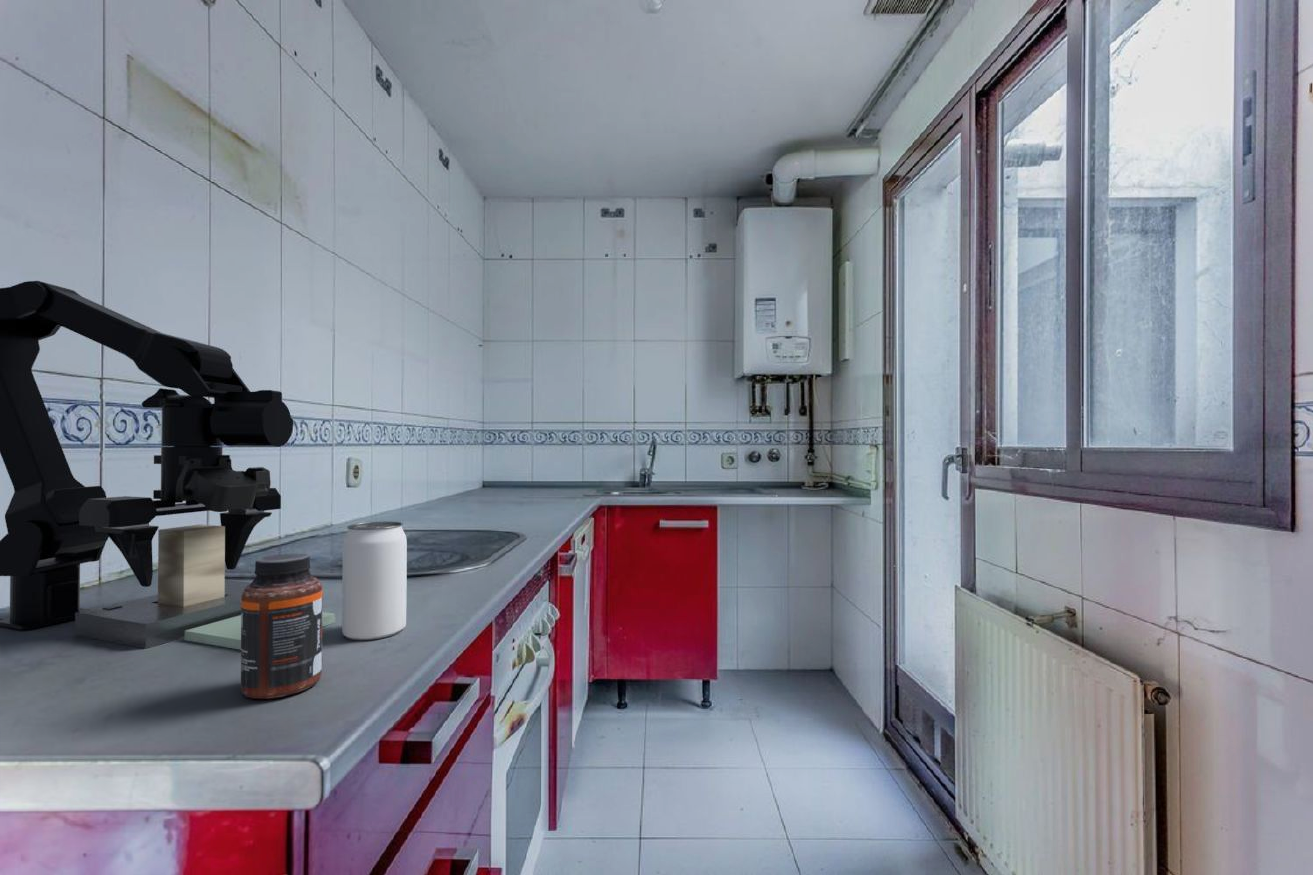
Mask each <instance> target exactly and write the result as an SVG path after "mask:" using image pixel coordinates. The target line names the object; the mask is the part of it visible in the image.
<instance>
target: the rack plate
mask: <svg viewBox="0 0 1313 875" xmlns="http://www.w3.org/2000/svg"><path fill="white" fill-rule="evenodd" d="M251 583H252V581H251V582H250V581H242V580H241V581H239V580H232V579H225V597H222V598H218V599H214V600H209V601H205V602H201V603H197V604H193V605H189V606H185V607H176V606H170V605H163V604H158V594H154V595H151V596H150V595H149V596H144V597H141V598H135V599H132V600H126V601H121V602H118V603H112V604H107V605H103V606H99V607H94V608H90V609H89V610H84V611H80V612H75V619H74V636H76V637H83V638H89V639H92V640H99V641H104V642H109V643H115V644H120V645H127V646H131V647H137V648H142V649H148V648H152V647H156V646H159V645H162V644H166V643H169V642H173V641H176V640H179V639H183V638H184V639H185V631H186V630H189V629H193V628H196V627H200V626H203V625H207V624H211V623H214V622H218V621H221V620H225V619H229V618H232V617H236V616H239V615H241V598H242V593H243V591H244V589H245V588H246V587H247V586H248V585H250V584H251Z"/></svg>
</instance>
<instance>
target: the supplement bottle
mask: <svg viewBox="0 0 1313 875" xmlns="http://www.w3.org/2000/svg"><path fill="white" fill-rule="evenodd" d="M254 565H255V568H254V572H253V573H254V575H256V576H255V578H253V581H251V584H250V585H248V586H247V587H246V588H245V589H244V591H243V593H242V598H241V650H240V687H241V693H242V694H243V695H244V696H245V697H247V698H251V699H256V700H261V699H262V700H268V699H271V700H272V699H279V698H284V697H287V696H291V695H294V694H297V693H300V692H304V691H306V690H308V689H309V688H311V687H313V686H314V685H316V684H317V683H318V682H319V681H320V679H321V678H322V676H323V674H322V673H323V627H322V612H323V585H322V583H321V580H320V579H318V577H315V576H312V573H311V572H310V569H311V559H310V554H308V553H305V552H304V553H303V552H299V553H298V552H293V553H292V552H290V553H289V552H288V553H280V554H272V555H267V556H262V557H259V558H257V559H256V560H255V563H254Z"/></svg>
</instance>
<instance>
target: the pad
mask: <svg viewBox="0 0 1313 875" xmlns="http://www.w3.org/2000/svg"><path fill="white" fill-rule="evenodd" d="M335 623H336V613H333V612H331V613H330V612H325V611H322V628H323V627H326V626H329V625H332V624H335ZM184 641H187V642H193V643H200V644H205V645H211V646H216V647H223V648H230V649H234V650H239V651H241V615H239V616H236V617H232V618H229V619H225V620H221V621H218V622H214V623H211V624H207V625H203V626H200V627H196V628H193V629H189V630H186V631H185V637H184Z"/></svg>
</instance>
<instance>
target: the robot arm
mask: <svg viewBox="0 0 1313 875" xmlns="http://www.w3.org/2000/svg"><path fill="white" fill-rule="evenodd" d="M60 328H65V329H67V330H69V331H71V332H74V333H75V334H78V335H80V336H83V337H84V338H86V339H89V340H91V341H93V342H96V343H98V344H100V345H102V346H103V347H106V348H109V349H111V350H113V351H115V352H118V353H119V354H121V355H124V356H126V357H127V358H128V359H130V360H131V361H133V362H134V364H135V366H136V367H137V369H138V370H139V371H141V372H142V373H144V374H145V375H146V376H148V377H150V378H151V379H152V380H154V381H155V382H157V383H158V384H160V385H162V386H163V387H166V388H163V387H162V388H160V387H159V388H158V389H157V391H156V392H155V393H154V394H152V395H151V396H148V397H147V398H146V399H145V400H143V401H142V402H141V406H142V407H143V408H144V409H145V408H146V409H160V410H161V443H160V444H161V446H160V447H161V448H160V455H159V454H158V455H155V454H154V455H153V464H154V465H160V489H155V490H153V494H152V495H153V499H152V497H145V496H131V495H130V496H126V495H124V496H111V497H107V494H106V490H104V488H103V487H102V486H101V485H94V486H91V485H90V486H85V485H84V484H83V483H81V482H80V481H78V480H77V479H76V478H75V477H74V475H73V473H72V471H71V468H70V465H69V463H68V461H67V458H66V455H65V453H64V450H63V448H62V445H61V442H60V440H59V437H58V434H57V432H56V429H55V427H54V425H53V424H54V423H53V422H52V419H51V417H50V414H49V412H48V409H47V407H46V404H45V402H44V400H43V396H42V394H41V392H40V389H39V387H38V386H39V385H38V384H37V382H36V378H35V376H34V374H33V370H32V368H33V367H34V364H35V362H36V360H37V358H38V355H39V354H40V352H41V347H40V342H39V341H41V340H44V339H45V340H46V339H48V338H49V337H53V336H55V335H56V333H57V332H58V331H59V330H60ZM170 388H171V389H170ZM172 388H173V389H172ZM175 389H179V390H181V391H182V392H183V393H185V394H184V395H183V394H180V393H179V392H177V390H175ZM207 398H213V403H211V401H210V400H208V399H207ZM293 430H294V419H293V418H292V415H291V412H290V410H289V408H288V406H287V404H286V403H285V402H283V393H282V391H278V390H270V389H261V390H260V389H259V390H255V391H251V390H250V389H249V388H248V386H247V385H246V384H245V382H244V381H243V380H242V378H241V377H240V376H239V375H238V373H237V371H236V370H235V369H234V365H233V363H232V356H231V355H230V354H229V353H228V352H227V351H226V350H224V349H223V348H220V347H217V346H213V345H210V344H205V343H203V342H202V343H201V342H198V341H196V340H195V341H194V340H191V339H187V338H183V337H178V336H175V335H171V334H167V333H163V332H161V331H158V330H156V329H154V328H152V327H149V326H148V325H145V324H143V323H141V322H139V321H137V320H135V319H132V318H130V317H127V316H126V315H124V314H121V313H119V312H116V311H114V310H112V309H110V308H109V307H105V306H104V305H101V304H99V303H97V302H95V301H93V300H90V299H89V298H85V297H84V296H82V295H81V294H79V293H78V292H76V291H75V290H74V289H69V288H67V287H62V286H59V285H55V284H52V283H47V282H44V281H40V280H29V281H28V280H27V281H23V282H19V283H18V284H15V285H12V286H8V287H0V456H1V459H2V462H3V464H4V466H5V469H6V472H7V474H8V476H9V479H10V482H11V485H12V487H13V491H14V492H13V495H12V497H11V499H10V502H9V505H8V506H7V509H6V511H5V514H4V520H5V526H6V530H7V534H5V535H4V536H3V537H2V538H1V539H0V577H9V616H7V617H2V618H0V627H5V628H10V629H15V630H22V631H24V630H25V631H26V630H31V629H32V630H33V629H35V628H39V627H43V626H45V627H46V626H49V625H53V624H58V623H62V622H67V621H70V620H75V612H80V611H84V610H89V609H88V608H82V607H80V606H81V604H80V601H81V600H80V596H81V594H80V592H81V564H85V563H86V564H87V563H90V562H91V563H94V562H99V561H100V558H101V556H102V554H103V552H104V548H105V546H106V543H107V542H108V540H109V539H110V540H111V541H112V542H113V544H114V545H115V546H116V547H117V549H118V550H119V552H120V553H121V555H122V556H123V557H124V559H125V561H126V563H127V564H128V566H129V567H130V570H131V571H132V572H133V574H134V576H135V577H136V579H137V581H138V582H139V585H141V587H146V588H147V587H151V585H152V582H153V575H154V574H153V572H154V570H153V564H154V563H153V538H154V536H155V535H156V534H157V531H158V530H159V529H160V528H159V526H158V525H150V523H151V522H152V521H153V520H154V518H156V517H160V516H161V517H162V516H170V515H179V514H189V513H198V512H208V511H211V512H215V513H219V519H220V521H219V522H220V526H225V567H226V568H225V569H226V570H229V571H230V570H236V568H237V566H238V563H239V561H240V558H241V556H242V554H243V551H244V549H245V547H246V544H247V542H248V539H249V538H250V536H251V534H252V532H253V530H254V528H255V527H256V526H257V525H258V524H259V523H260V522H261V521H263V519H265V518H269V517H271V516H272V514H273V512H271V511H274V510H281V509H282V495H281V493H280V492H279V491H278V489H277V488H276V487H271V482H272V481H271V472H270V470H269V469H267V468H266V467H264V466H259V467H248V468H247V469H245V470H234V469H233V467H232V458H231V455H230V454H223V445H225V446H228V447H231V448H233V447H234V448H235V447H238V448H239V447H241V448H242V447H243V448H244V447H245V448H249V447H250V448H251V447H253V448H261V447H262V448H274V447H275V448H276V447H277V448H279V447H283V446H284V445H286V444H287V443H288V442H289V440H290V439H291V437H292V433H293ZM269 511H270V512H269Z"/></svg>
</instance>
